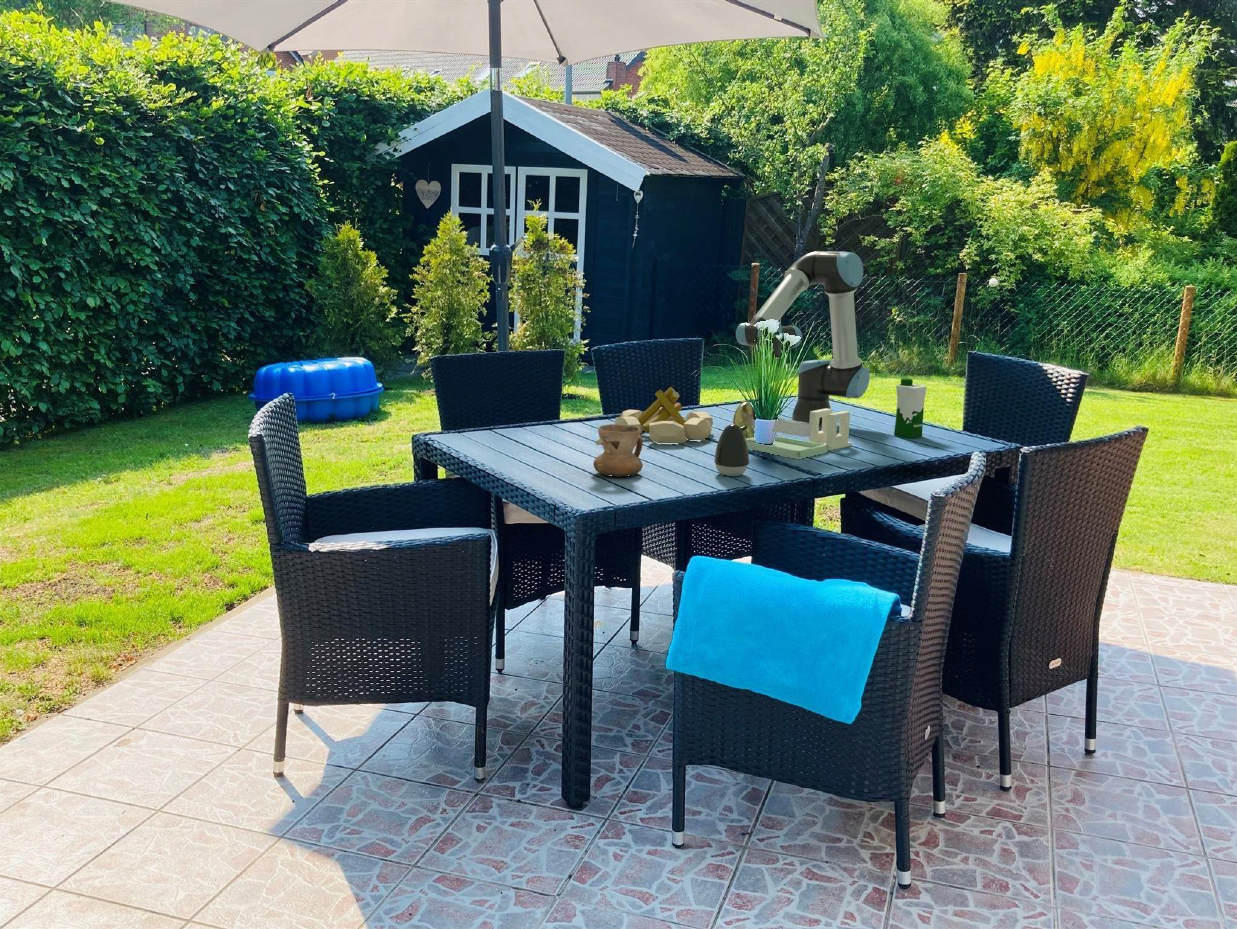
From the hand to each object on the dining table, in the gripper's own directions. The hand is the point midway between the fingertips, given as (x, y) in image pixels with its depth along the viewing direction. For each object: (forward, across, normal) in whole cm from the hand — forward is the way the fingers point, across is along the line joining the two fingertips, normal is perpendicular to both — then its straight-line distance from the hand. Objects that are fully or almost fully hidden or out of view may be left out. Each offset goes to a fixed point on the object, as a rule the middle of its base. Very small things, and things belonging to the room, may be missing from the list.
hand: (765, 439), depth 360 cm
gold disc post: (0, 0, -3) cm, 3 cm away
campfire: (+3, -11, +36) cm, 37 cm away
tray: (+3, 0, -4) cm, 5 cm away
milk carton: (+3, +53, -23) cm, 58 cm away
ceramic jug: (+3, -64, +5) cm, 64 cm away
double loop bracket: (+2, +18, -13) cm, 22 cm away
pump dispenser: (+3, -40, -18) cm, 44 cm away
